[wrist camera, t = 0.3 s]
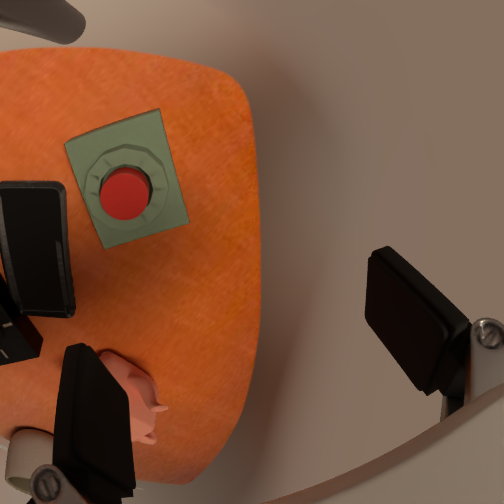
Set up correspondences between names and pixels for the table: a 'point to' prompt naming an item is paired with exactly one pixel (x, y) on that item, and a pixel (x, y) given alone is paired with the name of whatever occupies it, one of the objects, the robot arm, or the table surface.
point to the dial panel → (16, 331)
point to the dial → (1, 338)
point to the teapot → (136, 396)
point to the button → (125, 193)
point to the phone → (36, 247)
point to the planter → (27, 457)
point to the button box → (134, 156)
